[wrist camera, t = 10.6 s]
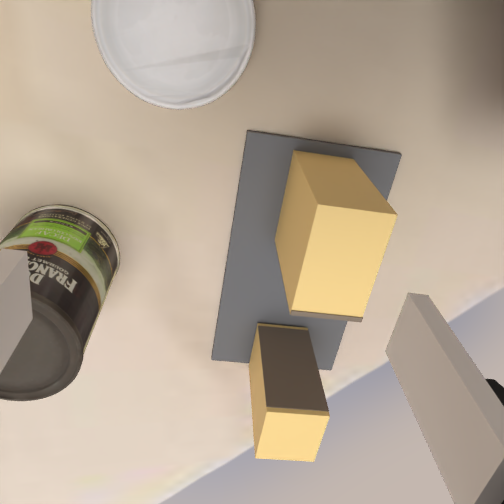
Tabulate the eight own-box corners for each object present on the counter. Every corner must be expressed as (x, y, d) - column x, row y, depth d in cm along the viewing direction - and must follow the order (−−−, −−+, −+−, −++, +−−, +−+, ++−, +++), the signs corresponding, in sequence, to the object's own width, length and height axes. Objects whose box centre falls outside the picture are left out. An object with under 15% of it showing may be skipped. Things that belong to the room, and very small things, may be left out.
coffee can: (13, 191, 41) (-76, 274, 29) (128, 219, 43) (90, 308, 31) (7, 284, 46) (-71, 389, 34) (111, 305, 48) (73, 412, 36)
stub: (257, 322, 49) (267, 411, 39) (307, 327, 50) (330, 415, 39) (248, 365, 52) (255, 458, 42) (296, 369, 53) (314, 461, 42)
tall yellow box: (293, 150, 40) (318, 205, 30) (353, 158, 41) (398, 215, 31) (274, 240, 45) (290, 316, 34) (328, 247, 45) (360, 323, 35)
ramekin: (182, 124, 39) (176, 141, 35) (75, 15, 35) (53, 18, 30) (281, 27, 36) (290, 32, 32) (178, -107, 32) (170, -124, 27)
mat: (247, 130, 40) (247, 131, 39) (399, 153, 42) (401, 154, 41) (211, 356, 52) (211, 360, 52) (330, 367, 54) (331, 370, 53)
